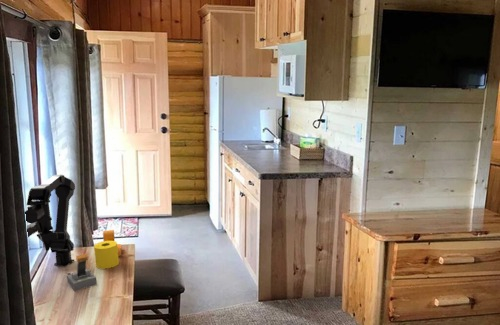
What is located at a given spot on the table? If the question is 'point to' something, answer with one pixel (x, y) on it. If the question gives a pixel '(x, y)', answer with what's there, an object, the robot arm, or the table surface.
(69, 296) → the table surface
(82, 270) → the breaker lever
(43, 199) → the robot arm
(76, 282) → the box
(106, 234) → the bracket
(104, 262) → the tape roll
